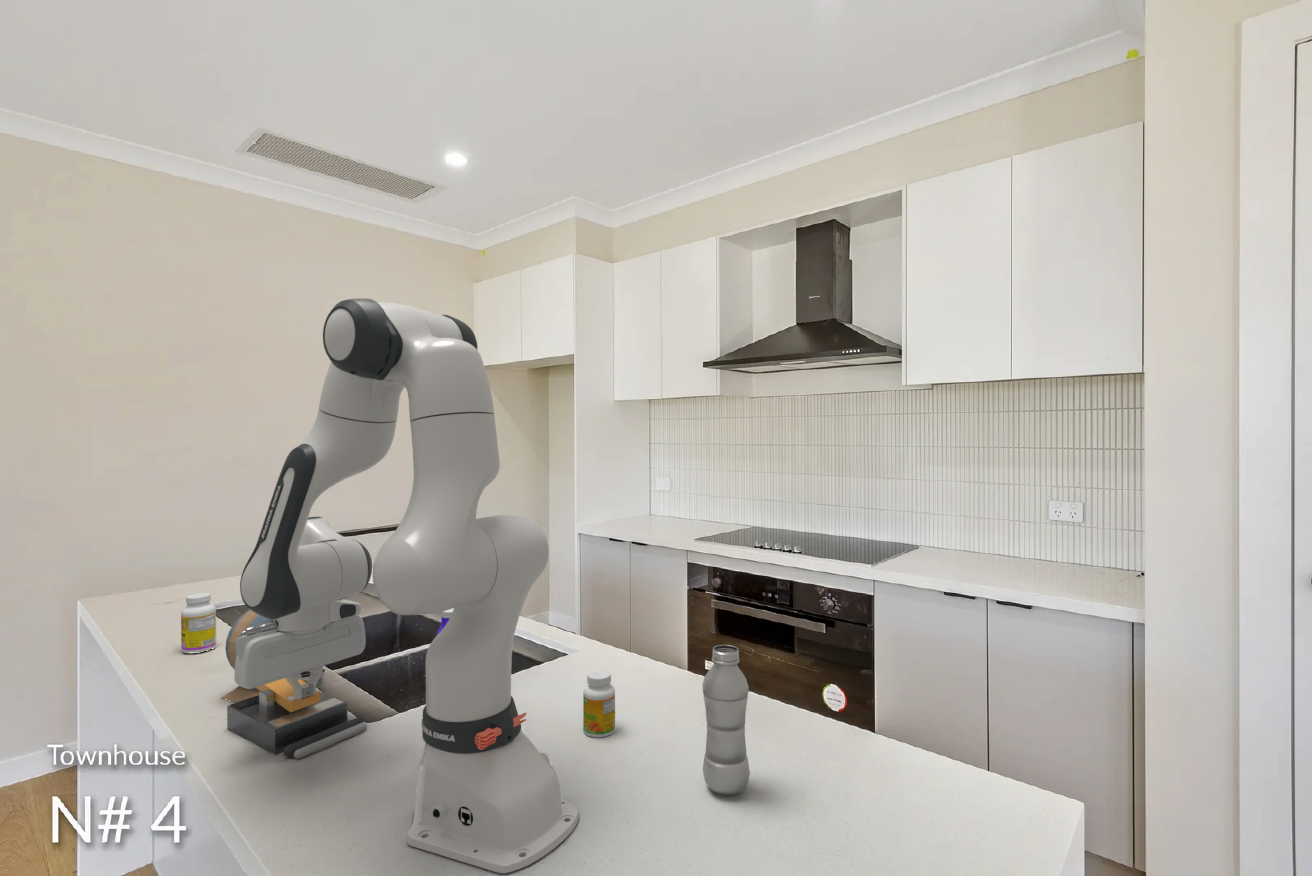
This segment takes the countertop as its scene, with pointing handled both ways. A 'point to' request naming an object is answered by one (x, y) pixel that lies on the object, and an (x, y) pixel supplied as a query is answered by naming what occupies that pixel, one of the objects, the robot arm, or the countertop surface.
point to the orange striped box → (289, 695)
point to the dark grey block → (283, 720)
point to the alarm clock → (237, 628)
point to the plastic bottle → (725, 723)
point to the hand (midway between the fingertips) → (305, 696)
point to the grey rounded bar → (325, 738)
